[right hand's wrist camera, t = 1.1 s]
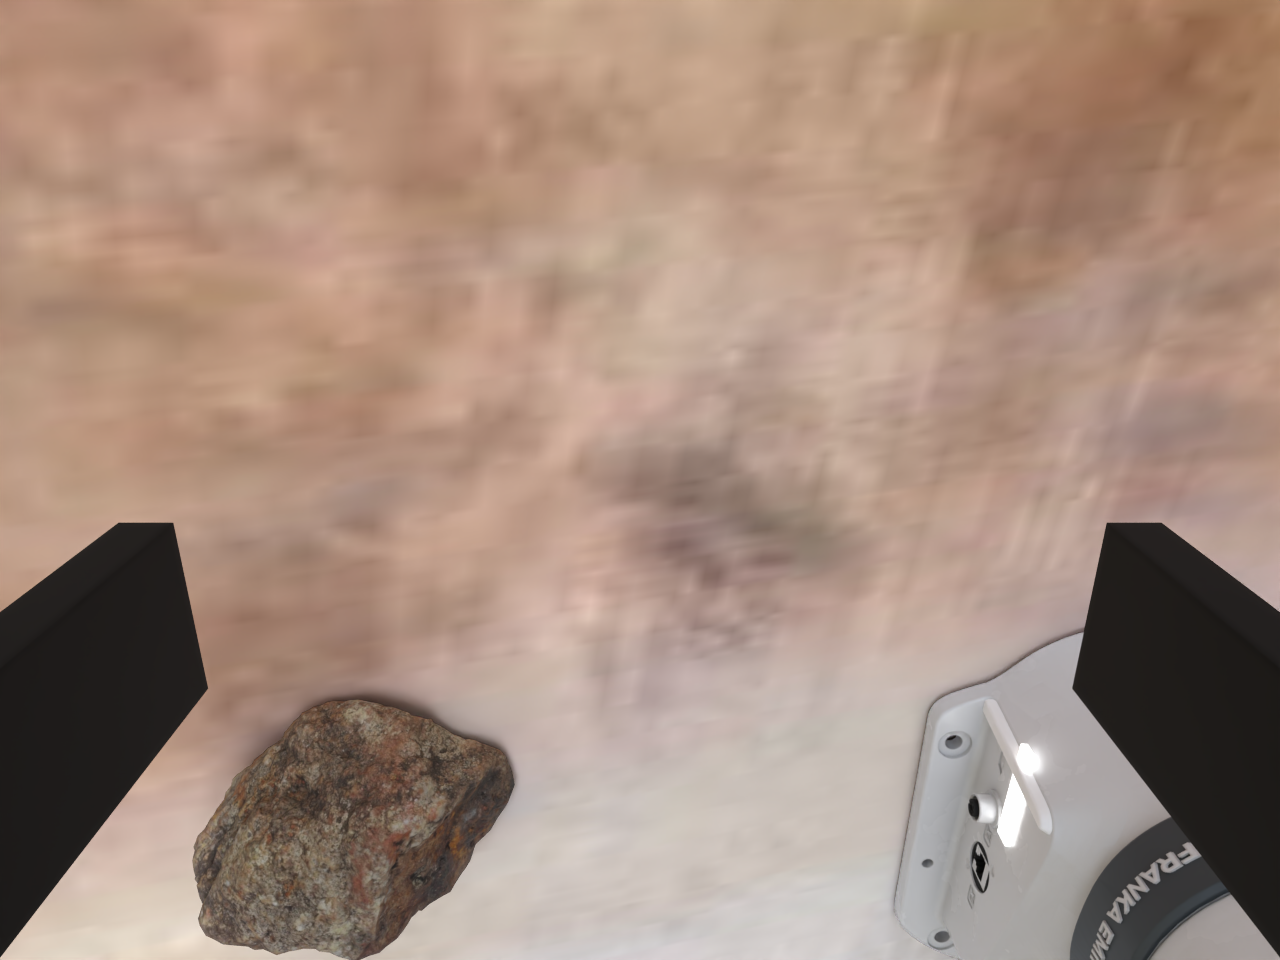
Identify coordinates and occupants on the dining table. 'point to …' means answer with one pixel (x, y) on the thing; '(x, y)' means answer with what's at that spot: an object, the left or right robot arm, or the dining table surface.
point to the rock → (345, 831)
